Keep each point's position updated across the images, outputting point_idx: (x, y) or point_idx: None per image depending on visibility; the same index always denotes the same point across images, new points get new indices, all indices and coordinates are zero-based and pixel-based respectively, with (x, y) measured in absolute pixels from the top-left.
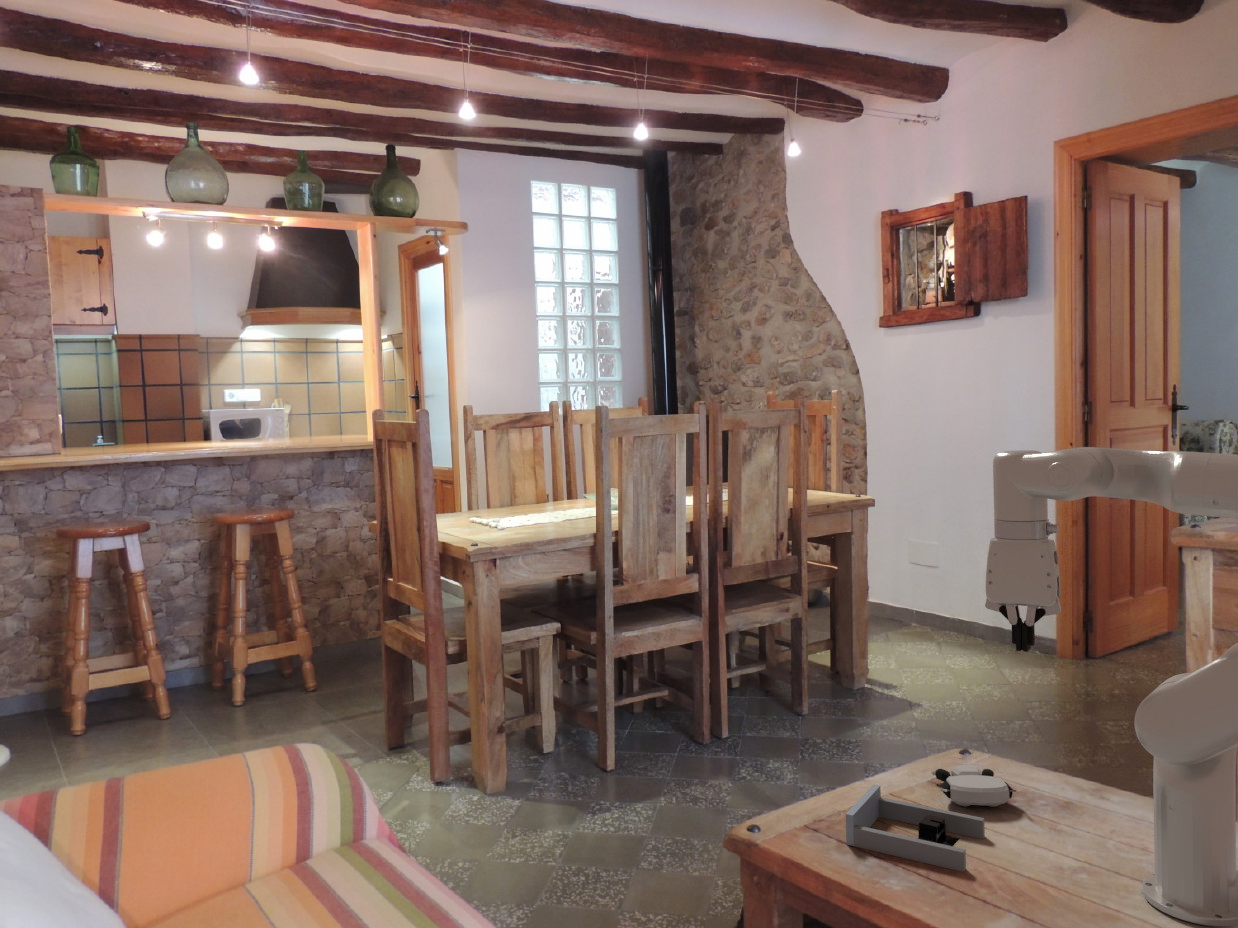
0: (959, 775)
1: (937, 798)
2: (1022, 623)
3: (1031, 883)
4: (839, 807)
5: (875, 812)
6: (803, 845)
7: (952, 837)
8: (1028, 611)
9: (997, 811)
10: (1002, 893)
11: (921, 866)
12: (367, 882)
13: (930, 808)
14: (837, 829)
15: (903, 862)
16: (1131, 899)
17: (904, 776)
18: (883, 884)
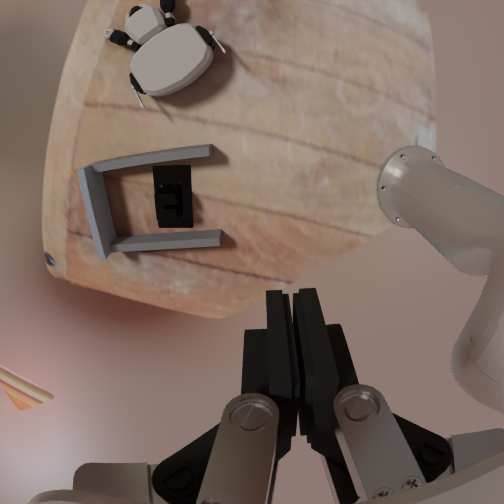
0: (141, 49)
1: None
2: (293, 398)
3: (284, 224)
4: (65, 173)
5: (99, 181)
6: (90, 265)
7: (183, 169)
8: (343, 502)
9: None
10: (265, 255)
11: None
12: (19, 384)
13: (145, 158)
14: None
15: None
16: (368, 207)
17: (81, 49)
18: (174, 291)
